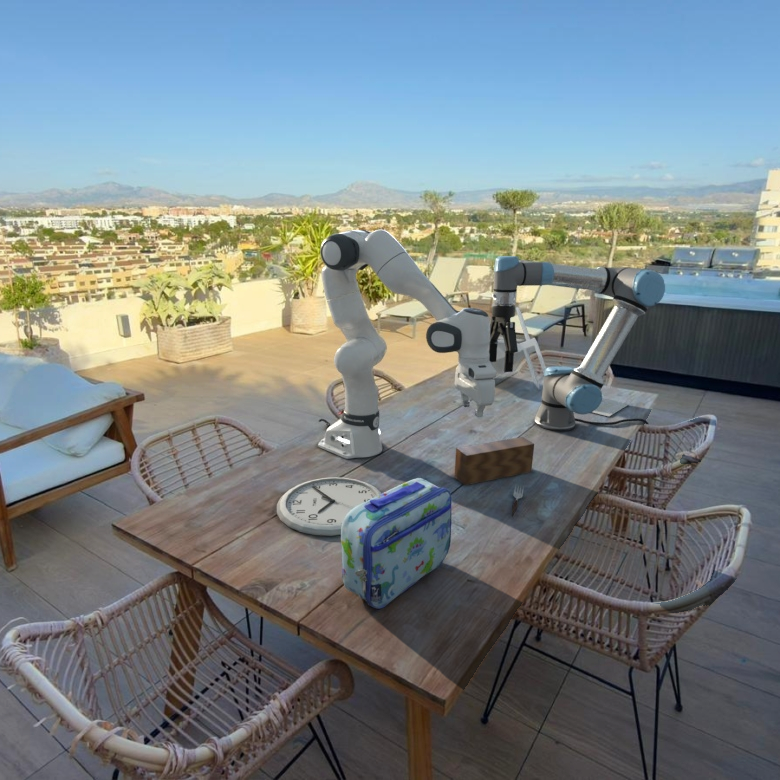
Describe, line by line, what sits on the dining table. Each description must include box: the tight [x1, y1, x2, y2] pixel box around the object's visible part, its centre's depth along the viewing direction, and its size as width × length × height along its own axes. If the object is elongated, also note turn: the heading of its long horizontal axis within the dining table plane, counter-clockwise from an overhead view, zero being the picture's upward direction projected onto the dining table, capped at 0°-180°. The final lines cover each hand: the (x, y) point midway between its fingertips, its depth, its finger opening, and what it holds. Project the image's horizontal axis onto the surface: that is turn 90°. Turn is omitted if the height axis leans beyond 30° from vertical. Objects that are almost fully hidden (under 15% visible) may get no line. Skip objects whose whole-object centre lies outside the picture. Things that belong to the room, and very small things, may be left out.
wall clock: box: [276, 476, 383, 537], centre depth 142 cm, size 30×2×30 cm
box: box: [454, 436, 535, 486], centre depth 161 cm, size 24×6×10 cm, turn 113°
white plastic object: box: [488, 306, 547, 390], centre depth 260 cm, size 37×45×31 cm
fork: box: [511, 484, 525, 517], centre depth 145 cm, size 3×16×2 cm, turn 160°
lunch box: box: [340, 477, 452, 610], centre depth 110 cm, size 26×11×21 cm, turn 134°
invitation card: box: [591, 398, 629, 418], centre depth 226 cm, size 21×1×15 cm
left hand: (472, 411), depth 154 cm, fingers open, 8 cm apart
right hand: (499, 366), depth 179 cm, fingers open, 13 cm apart
